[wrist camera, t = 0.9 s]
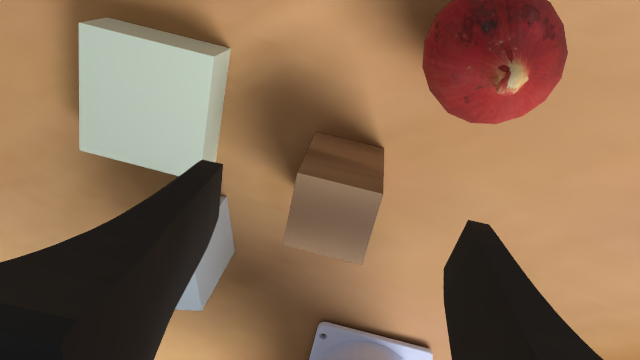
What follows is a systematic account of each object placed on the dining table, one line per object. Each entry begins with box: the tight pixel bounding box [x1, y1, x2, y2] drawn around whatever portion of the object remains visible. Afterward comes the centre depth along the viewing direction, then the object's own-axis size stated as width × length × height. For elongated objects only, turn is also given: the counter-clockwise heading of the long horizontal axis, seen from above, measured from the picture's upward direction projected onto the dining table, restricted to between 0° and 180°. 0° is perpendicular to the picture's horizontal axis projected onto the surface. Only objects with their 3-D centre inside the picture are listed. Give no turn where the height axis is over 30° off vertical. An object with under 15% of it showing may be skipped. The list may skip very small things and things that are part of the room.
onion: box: [422, 0, 568, 124], centre depth 20 cm, size 6×6×8 cm
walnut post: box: [283, 132, 384, 265], centre depth 25 cm, size 4×4×6 cm
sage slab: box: [79, 18, 231, 176], centre depth 26 cm, size 7×7×3 cm
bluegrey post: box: [175, 196, 235, 311], centre depth 28 cm, size 4×4×6 cm
